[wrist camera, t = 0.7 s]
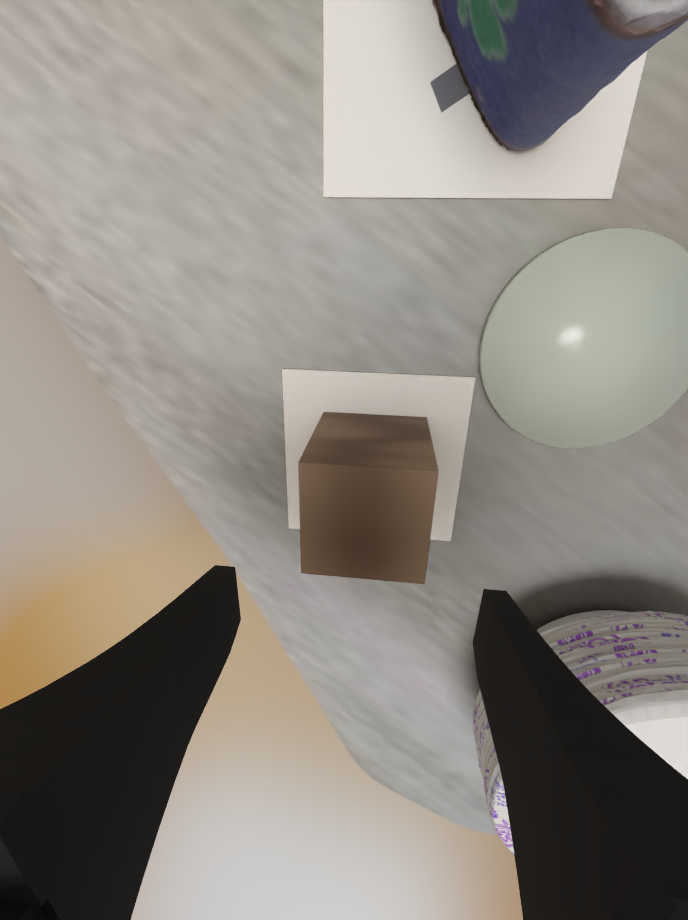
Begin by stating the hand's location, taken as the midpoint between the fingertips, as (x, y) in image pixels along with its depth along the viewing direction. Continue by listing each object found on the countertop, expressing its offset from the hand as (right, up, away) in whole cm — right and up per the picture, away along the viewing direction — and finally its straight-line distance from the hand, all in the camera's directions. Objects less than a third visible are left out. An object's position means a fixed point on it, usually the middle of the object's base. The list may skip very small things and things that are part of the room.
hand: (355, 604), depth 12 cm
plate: (+10, +9, +6) cm, 15 cm away
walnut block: (+1, +4, +9) cm, 10 cm away
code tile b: (+1, +4, +9) cm, 10 cm away
